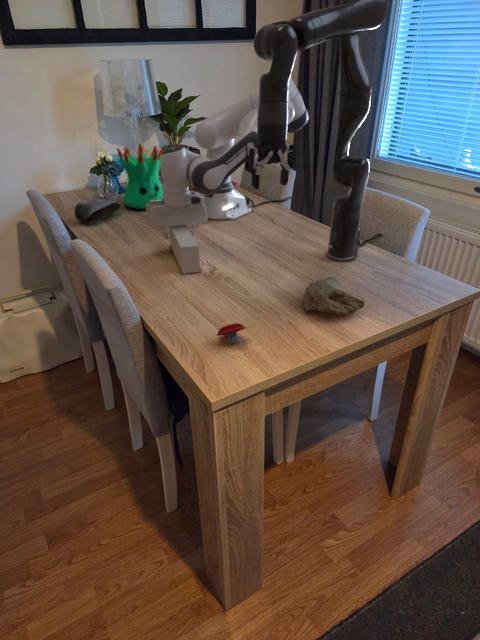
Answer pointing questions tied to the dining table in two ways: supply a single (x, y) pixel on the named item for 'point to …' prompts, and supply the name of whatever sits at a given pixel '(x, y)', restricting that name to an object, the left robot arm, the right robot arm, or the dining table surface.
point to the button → (231, 331)
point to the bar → (184, 248)
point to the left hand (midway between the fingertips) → (179, 237)
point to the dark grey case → (95, 209)
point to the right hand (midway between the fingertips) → (270, 186)
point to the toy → (141, 177)
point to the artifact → (331, 297)
